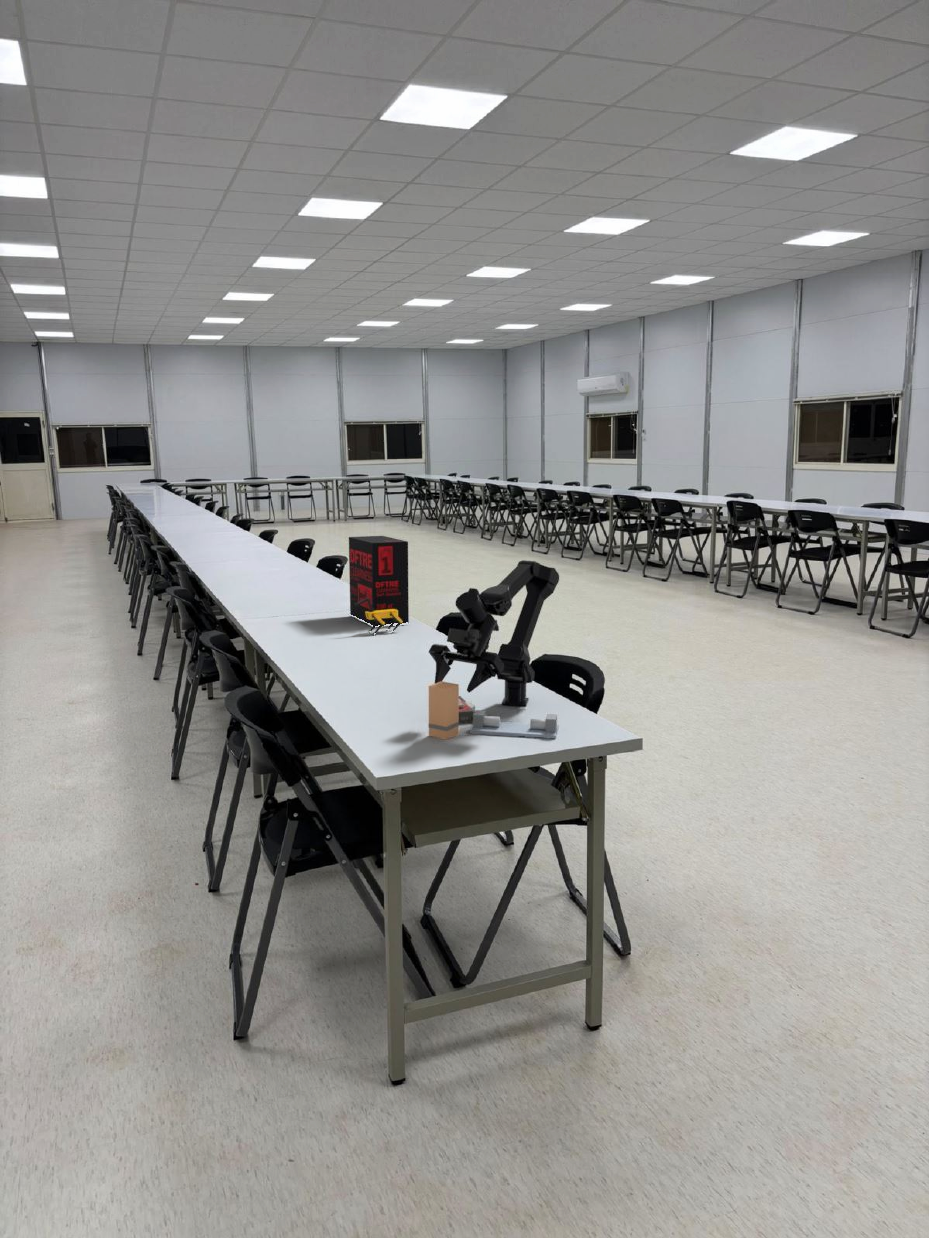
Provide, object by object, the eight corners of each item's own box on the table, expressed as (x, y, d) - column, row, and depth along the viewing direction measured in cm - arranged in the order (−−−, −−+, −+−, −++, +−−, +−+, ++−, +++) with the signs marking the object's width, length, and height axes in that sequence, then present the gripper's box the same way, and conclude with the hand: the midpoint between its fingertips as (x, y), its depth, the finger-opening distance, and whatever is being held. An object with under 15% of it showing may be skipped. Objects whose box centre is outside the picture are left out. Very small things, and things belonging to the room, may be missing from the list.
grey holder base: (476, 723, 215) (476, 707, 215) (558, 728, 212) (558, 712, 211) (470, 733, 208) (470, 717, 207) (555, 738, 204) (556, 722, 203)
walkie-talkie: (485, 723, 217) (462, 701, 235) (485, 706, 216) (462, 685, 235) (451, 726, 214) (430, 704, 233) (451, 709, 213) (430, 688, 232)
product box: (350, 616, 355) (348, 537, 349) (383, 613, 362) (382, 535, 356) (373, 628, 332) (372, 543, 326) (408, 624, 338) (408, 541, 332)
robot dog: (351, 634, 321) (351, 598, 318) (396, 629, 329) (396, 594, 327) (358, 637, 316) (357, 600, 313) (403, 632, 325) (402, 596, 322)
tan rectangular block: (441, 730, 210) (441, 681, 208) (458, 733, 207) (458, 684, 205) (428, 735, 206) (428, 685, 204) (446, 739, 203) (446, 689, 201)
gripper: (433, 611, 214) (405, 664, 207) (498, 619, 204) (471, 675, 197) (451, 637, 222) (425, 689, 215) (515, 647, 212) (490, 701, 204)
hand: (451, 688), depth 207 cm, fingers open, 9 cm apart
